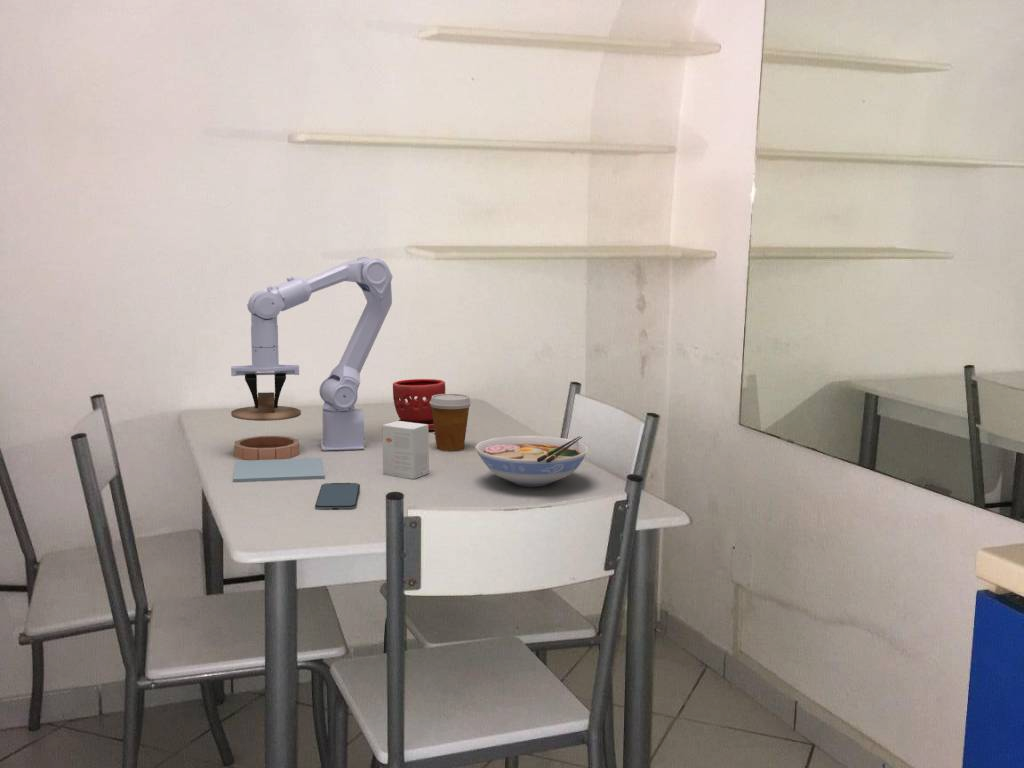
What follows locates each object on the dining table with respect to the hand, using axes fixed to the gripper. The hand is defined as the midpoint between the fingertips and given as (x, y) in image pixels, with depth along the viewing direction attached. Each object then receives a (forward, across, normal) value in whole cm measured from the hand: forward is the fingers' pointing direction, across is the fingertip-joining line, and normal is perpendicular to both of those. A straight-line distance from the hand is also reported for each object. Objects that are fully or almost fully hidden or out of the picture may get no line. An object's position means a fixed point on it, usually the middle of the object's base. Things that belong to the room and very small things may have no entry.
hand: (266, 407), depth 235 cm
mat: (+10, -2, +17) cm, 20 cm away
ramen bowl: (+11, -52, +35) cm, 64 cm away
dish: (+10, 0, 0) cm, 10 cm away
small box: (+11, -28, +24) cm, 38 cm away
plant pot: (+11, -37, -23) cm, 45 cm away
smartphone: (+11, -13, +41) cm, 45 cm away
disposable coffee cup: (+11, -41, +1) cm, 42 cm away
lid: (+2, 0, 0) cm, 2 cm away
